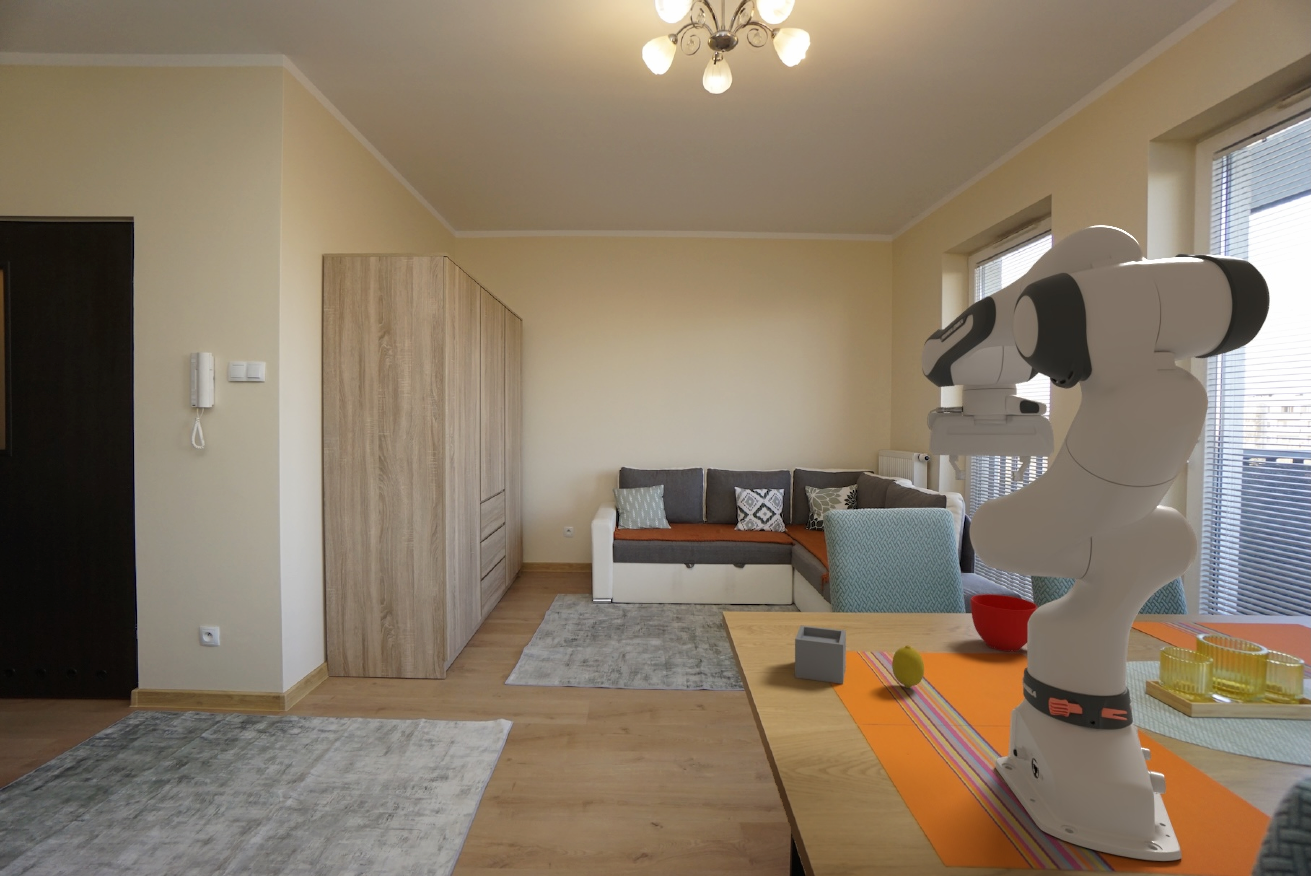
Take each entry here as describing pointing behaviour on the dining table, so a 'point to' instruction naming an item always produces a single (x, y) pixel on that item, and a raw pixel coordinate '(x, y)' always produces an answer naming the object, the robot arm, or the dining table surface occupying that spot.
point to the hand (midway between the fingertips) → (988, 480)
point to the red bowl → (1002, 620)
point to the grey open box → (820, 654)
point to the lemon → (908, 666)
